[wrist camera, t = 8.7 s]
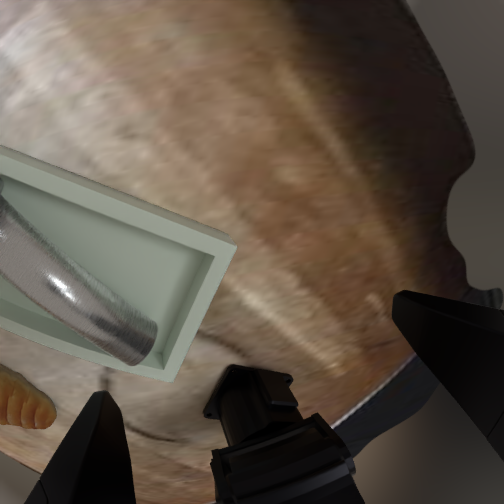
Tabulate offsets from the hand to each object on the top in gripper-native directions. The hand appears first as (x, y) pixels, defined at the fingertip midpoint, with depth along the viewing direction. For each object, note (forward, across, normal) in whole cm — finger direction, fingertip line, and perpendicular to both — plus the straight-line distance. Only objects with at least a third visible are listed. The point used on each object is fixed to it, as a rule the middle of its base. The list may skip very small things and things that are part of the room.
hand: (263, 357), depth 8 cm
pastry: (+14, +21, +9) cm, 26 cm away
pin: (+11, +6, +6) cm, 13 cm away
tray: (+13, +9, 0) cm, 16 cm away
